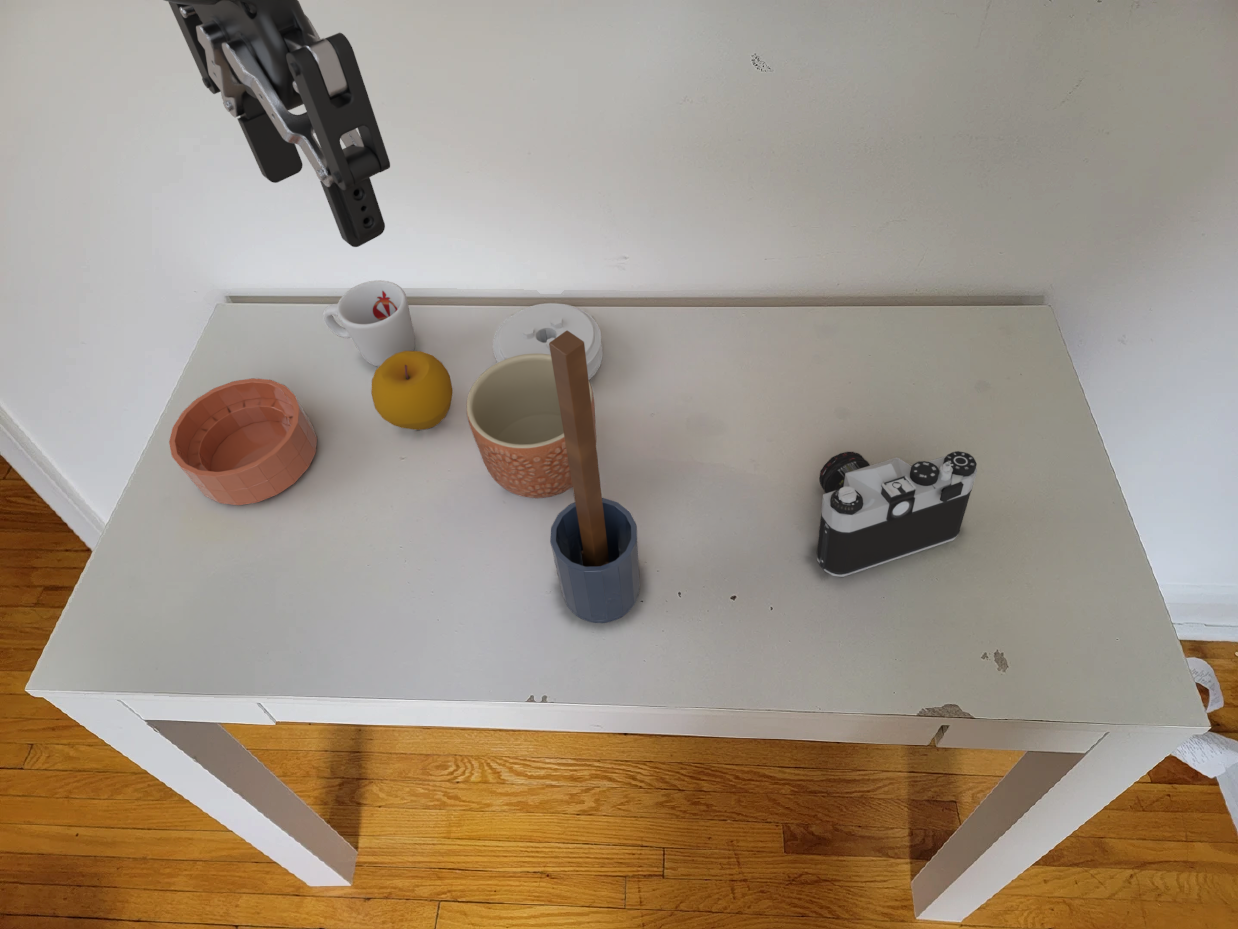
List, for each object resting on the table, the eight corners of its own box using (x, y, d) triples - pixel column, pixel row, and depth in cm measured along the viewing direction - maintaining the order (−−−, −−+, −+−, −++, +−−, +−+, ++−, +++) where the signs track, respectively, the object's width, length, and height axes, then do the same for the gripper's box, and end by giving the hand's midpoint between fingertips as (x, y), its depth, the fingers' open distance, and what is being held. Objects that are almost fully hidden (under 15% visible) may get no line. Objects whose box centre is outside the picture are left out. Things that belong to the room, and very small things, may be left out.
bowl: (234, 531, 79) (206, 498, 75) (176, 461, 85) (147, 427, 81) (342, 456, 85) (322, 421, 80) (280, 396, 91) (259, 360, 86)
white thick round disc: (483, 345, 94) (475, 314, 90) (578, 312, 97) (574, 281, 93) (519, 415, 87) (512, 385, 83) (620, 378, 90) (618, 347, 86)
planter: (462, 480, 82) (438, 413, 73) (533, 405, 88) (519, 335, 79) (554, 533, 77) (540, 469, 69) (623, 451, 83) (618, 382, 75)
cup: (326, 370, 93) (301, 321, 86) (351, 325, 97) (328, 275, 91) (411, 378, 91) (392, 329, 85) (431, 332, 96) (415, 281, 90)
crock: (600, 638, 70) (592, 588, 62) (546, 589, 74) (532, 534, 66) (655, 586, 73) (654, 531, 65) (601, 540, 77) (594, 483, 69)
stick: (606, 600, 72) (574, 361, 46) (582, 580, 73) (539, 336, 48) (618, 589, 73) (593, 347, 47) (594, 569, 74) (558, 323, 48)
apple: (396, 459, 84) (371, 406, 77) (378, 407, 89) (353, 352, 82) (470, 432, 86) (453, 378, 79) (448, 382, 91) (430, 327, 84)
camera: (908, 472, 81) (923, 398, 75) (972, 543, 74) (996, 468, 67) (782, 512, 79) (786, 439, 72) (834, 589, 71) (844, 516, 65)
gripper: (15, -175, 31) (202, 184, 44) (164, -98, 25) (332, 297, 37) (189, -215, 34) (317, 132, 47) (363, -155, 28) (456, 228, 40)
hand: (324, 205), depth 42 cm, fingers open, 8 cm apart
